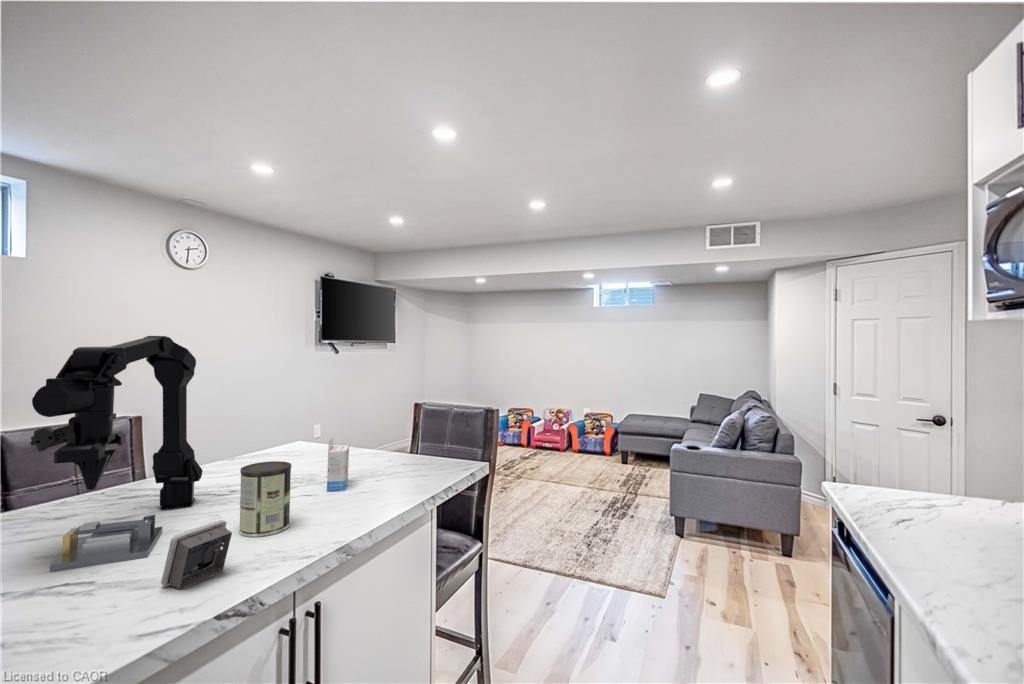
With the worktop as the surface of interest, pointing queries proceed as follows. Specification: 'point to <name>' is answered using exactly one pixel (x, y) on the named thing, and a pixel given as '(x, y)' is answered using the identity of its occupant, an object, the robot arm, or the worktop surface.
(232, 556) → the worktop surface
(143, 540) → the toggle clamp fixture
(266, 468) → the coffee can
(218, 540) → the electrical switch
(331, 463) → the ink box
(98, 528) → the grey long bar
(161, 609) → the worktop surface
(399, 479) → the worktop surface
